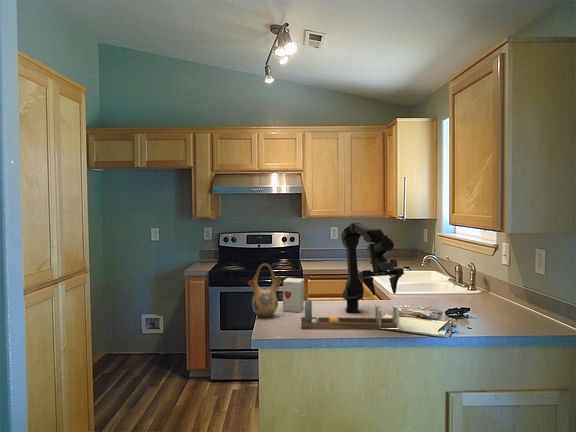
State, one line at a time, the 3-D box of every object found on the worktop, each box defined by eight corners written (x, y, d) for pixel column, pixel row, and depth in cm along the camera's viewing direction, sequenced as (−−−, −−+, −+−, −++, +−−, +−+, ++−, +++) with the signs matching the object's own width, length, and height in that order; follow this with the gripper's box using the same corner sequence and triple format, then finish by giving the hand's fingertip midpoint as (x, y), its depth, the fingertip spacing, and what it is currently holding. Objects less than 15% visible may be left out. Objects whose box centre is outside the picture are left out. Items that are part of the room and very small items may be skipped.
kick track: (301, 322, 171) (301, 303, 170) (394, 323, 169) (394, 304, 169) (301, 328, 162) (301, 308, 162) (399, 329, 161) (399, 309, 161)
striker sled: (304, 323, 169) (304, 297, 169) (318, 323, 169) (318, 298, 168) (304, 327, 164) (304, 301, 163) (319, 327, 163) (319, 301, 163)
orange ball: (328, 324, 168) (328, 314, 168) (338, 324, 168) (338, 314, 168) (329, 327, 164) (329, 317, 164) (339, 327, 164) (339, 317, 164)
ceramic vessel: (247, 319, 175) (247, 265, 174) (247, 314, 184) (247, 262, 183) (283, 318, 176) (283, 264, 175) (281, 313, 185) (281, 261, 184)
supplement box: (282, 311, 188) (282, 281, 188) (286, 306, 197) (286, 277, 196) (300, 312, 186) (300, 281, 186) (304, 307, 195) (304, 278, 194)
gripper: (365, 253, 153) (372, 293, 148) (406, 251, 158) (415, 289, 153) (354, 260, 163) (360, 297, 158) (393, 258, 168) (401, 294, 163)
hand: (384, 294), depth 157 cm, fingers open, 9 cm apart
